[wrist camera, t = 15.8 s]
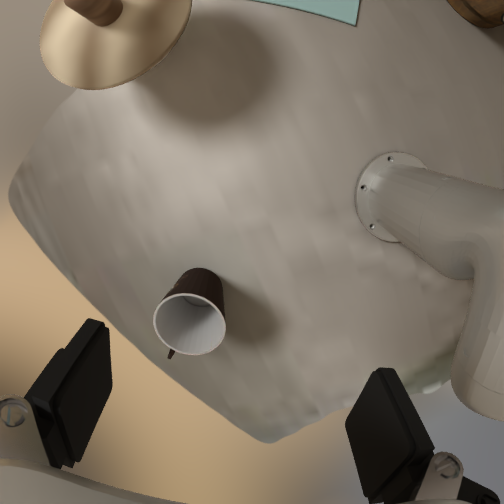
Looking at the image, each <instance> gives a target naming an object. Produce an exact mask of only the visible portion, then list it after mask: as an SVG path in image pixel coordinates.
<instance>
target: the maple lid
mask: <svg viewBox="0 0 504 504" xmlns="http://www.w3.org/2000/svg"><path fill="white" fill-rule="evenodd" d="M191 7H192V0H53V1H52V3H51V4H50V6H49V8H48V10H47V12H46V15H45V17H44V20H43V24H42V28H41V34H40V49H41V55H42V59H43V62H44V63H45V66H46V68H47V69H48V71H50V73H51V74H52V75H53V76H54V77H55V78H56V79H57V80H59V81H60V82H62V83H64V84H66V85H69V86H72V87H76V88H80V89H85V90H102V89H108V88H113V87H116V86H119V85H122V84H125V83H127V82H129V81H131V80H133V79H135V78H137V77H139V76H140V75H142V74H144V73H145V72H147V71H148V70H150V69H151V68H152V67H154V66H155V65H156V64H157V63H158V62H159V61H161V60H162V59H163V58H164V57H165V56H166V55H167V54H168V52H169V51H170V50H171V49H172V48H173V46H174V45H175V44H176V43H177V41H178V39H179V38H180V36H181V35H182V33H183V31H184V29H185V27H186V25H187V22H188V19H189V16H190V12H191Z"/></svg>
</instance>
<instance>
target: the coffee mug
mask: <svg viewBox="0 0 504 504" xmlns="http://www.w3.org/2000/svg"><path fill="white" fill-rule="evenodd" d="M153 324H154V328H155V331H156V333H157V335H158V337H159V338H160V339H161V341H162V342H163V343H164V344H165V345H167V346H168V347H169V348H171V349H170V352H169V354H168V359H171V358H172V356H173V354H174V353H175V351H177V352H179V353H182V354H187V355H201V354H205V353H208V352H210V351H212V350H214V349H215V348H216V347H218V346H219V344H220V343H221V342H222V340H223V338H224V336H225V331H226V324H225V313H224V302H223V290H222V284H221V281H220V279H219V278H218V277H217V275H216V274H214V273H213V272H212V271H210V270H207V269H204V268H193V269H190V270H188V271H187V272H185V273H184V274H183V275H182V276H181V277H180V279H179V280H178V281H177V282H176V284H175V285H174V286H173V287H172V289H171V290H170V291H169V292H168V293H167V295H166V296H165V297H164V298H163V300H162V301H161V302H160V303H159V305H158V306H157V308H156V309H155V312H154V316H153Z"/></svg>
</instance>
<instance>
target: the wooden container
mask: <svg viewBox="0 0 504 504" xmlns="http://www.w3.org/2000/svg"><path fill="white" fill-rule="evenodd" d="M447 1H448V2H449V3H450V5H451V6H452V7H453V8H454V9H455V10H456V11H457V12H458V13H459V14H460V15H461V16H462V17H464V18H465V19H466V20H468V21H469V22H471V23H473V24H475V25H477V26H479V27H482V28H492V27H496V26H499V25H502V24H504V0H447Z"/></svg>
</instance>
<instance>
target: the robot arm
mask: <svg viewBox="0 0 504 504" xmlns="http://www.w3.org/2000/svg"><path fill="white" fill-rule="evenodd" d="M388 157H389V160H388ZM362 185H363V188H362V189H361V186H362ZM355 207H356V211H357V214H358V217H359V219H360V221H361V222H362V224H363V225H364V227H365V228H366V229H367V230H368V231H369V232H370V233H371V234H373V235H374V236H375V237H377V238H379V239H381V240H385V241H389V242H399V241H400V242H402V243H403V244H404V245H406V246H407V247H408V248H409V249H411V250H412V251H413V252H414V253H416V254H417V255H418V256H419V257H421V258H422V259H423V260H424V261H426V262H427V263H428V264H429V265H431V266H432V267H433V268H434V269H436V270H437V271H438V272H440V273H441V274H442V275H444V276H446V277H448V278H451V279H456V280H469V279H474V283H473V289H472V293H471V297H470V305H469V308H468V312H467V316H466V319H465V323H464V326H463V329H462V333H461V336H460V339H459V342H458V345H457V348H456V351H455V355H454V358H453V362H452V366H451V384H452V388H453V390H454V392H455V394H456V396H457V397H458V399H459V400H460V401H461V402H462V403H463V404H464V405H465V406H466V407H468V408H469V409H471V410H472V411H474V412H476V413H478V414H480V415H482V416H485V417H488V418H491V419H494V420H499V421H504V189H499V188H495V187H490V186H486V185H483V184H479V183H475V182H472V181H468V180H464V179H461V178H457V177H453V176H450V175H446V174H442V173H438V172H434V171H431V170H428V168H427V167H426V166H425V164H424V163H423V162H422V161H420V160H419V159H418V158H417V157H415V156H413V155H411V154H407V153H403V152H388V153H385V154H382V155H380V156H378V157H376V158H374V159H373V160H372V161H371V162H370V163H369V164H367V166H366V167H365V168H364V170H363V171H362V173H361V175H360V177H359V179H358V182H357V185H356V190H355ZM370 224H372V225H371V226H370ZM111 390H112V372H111V357H110V335H109V328H107V327H105V324H104V322H101V321H97V320H94V319H90V318H88V319H87V320H86V321H85V323H84V324H83V325H82V327H81V328H80V329H79V330H78V332H77V333H76V334H75V336H74V337H73V338H72V340H71V341H70V342H69V344H68V345H67V346H66V348H65V349H63V348H61V349H59V350H58V351H57V352H56V354H55V355H54V356H53V358H52V359H51V360H50V362H49V363H48V364H47V366H46V367H45V368H44V370H43V371H42V373H41V374H40V375H39V377H38V378H37V380H36V381H35V382H34V384H33V385H32V387H31V388H30V389H29V391H28V392H27V394H26V395H25V397H24V398H23V397H21V396H18V395H5V396H1V397H0V504H186V503H180V502H175V501H170V500H165V499H160V498H155V497H151V496H147V495H143V494H139V493H134V492H131V491H127V490H124V489H119V488H116V487H113V486H109V485H106V484H103V483H100V482H96V481H93V480H90V479H87V478H84V477H81V476H78V475H75V474H72V473H69V472H66V471H63V470H60V469H61V467H62V465H65V466H68V467H70V468H73V466H74V463H75V461H76V462H80V461H81V459H82V456H83V454H84V452H85V449H86V447H87V445H88V442H89V440H90V438H91V435H92V433H93V431H94V428H95V426H96V424H97V422H98V419H99V417H100V415H101V413H102V411H103V408H104V406H105V404H106V402H107V400H108V398H109V395H110V393H111ZM345 428H346V431H347V435H348V438H349V442H350V445H351V449H352V453H353V456H354V460H355V463H356V467H357V471H358V475H359V478H360V482H361V486H362V490H363V494H364V496H365V497H368V500H369V504H375V503H382V502H384V504H500V500H499V498H498V496H497V495H496V494H495V493H494V492H493V491H492V490H490V489H488V488H486V487H484V486H482V485H480V484H478V483H475V482H474V481H472V480H470V479H468V478H466V477H464V476H463V470H464V469H463V466H462V463H461V462H460V460H459V459H458V458H457V457H456V456H455V455H453V454H451V453H448V452H439V453H437V454H435V455H434V453H433V450H434V449H435V447H434V445H433V443H432V441H431V439H430V437H429V435H428V433H427V431H426V429H425V427H424V425H423V423H422V421H421V419H420V417H419V415H418V413H417V411H416V409H415V407H414V405H413V403H412V401H411V400H410V398H409V395H408V394H407V392H406V390H405V388H404V386H403V384H402V382H401V380H400V379H399V377H398V375H397V373H396V371H395V370H394V369H393V368H381V367H380V368H378V369H377V370H376V371H373V372H372V374H371V375H370V377H369V379H368V381H367V383H366V385H365V387H364V389H363V390H362V392H361V394H360V396H359V398H358V400H357V401H356V403H355V405H354V407H353V409H352V410H351V412H350V414H349V415H348V417H347V419H346V422H345Z"/></svg>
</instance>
